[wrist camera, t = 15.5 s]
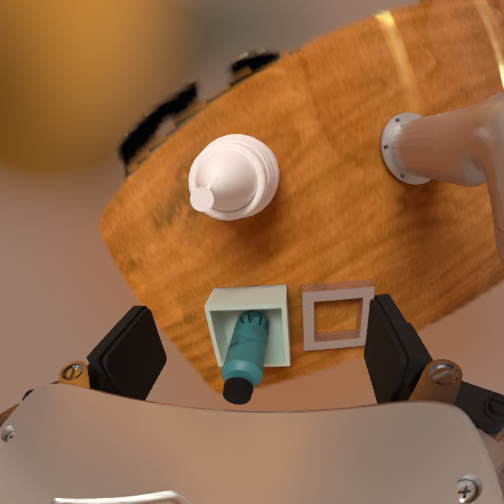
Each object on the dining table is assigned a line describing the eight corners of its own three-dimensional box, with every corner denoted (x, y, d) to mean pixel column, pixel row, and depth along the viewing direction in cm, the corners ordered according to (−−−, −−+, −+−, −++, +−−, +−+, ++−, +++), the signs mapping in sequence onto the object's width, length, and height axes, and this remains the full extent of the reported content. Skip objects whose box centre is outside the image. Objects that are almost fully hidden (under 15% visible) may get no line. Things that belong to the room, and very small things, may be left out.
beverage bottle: (276, 311, 51) (268, 390, 32) (264, 337, 53) (251, 416, 34) (243, 299, 51) (219, 374, 32) (233, 326, 53) (207, 402, 34)
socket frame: (370, 279, 47) (374, 286, 45) (365, 336, 51) (368, 344, 49) (301, 284, 49) (302, 292, 47) (303, 341, 53) (304, 350, 51)
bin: (286, 284, 50) (286, 303, 43) (290, 343, 54) (290, 366, 47) (214, 288, 52) (204, 306, 45) (225, 344, 56) (218, 366, 49)
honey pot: (248, 227, 47) (226, 267, 30) (189, 182, 46) (137, 198, 29) (295, 167, 43) (301, 173, 26) (233, 121, 42) (199, 100, 25)
